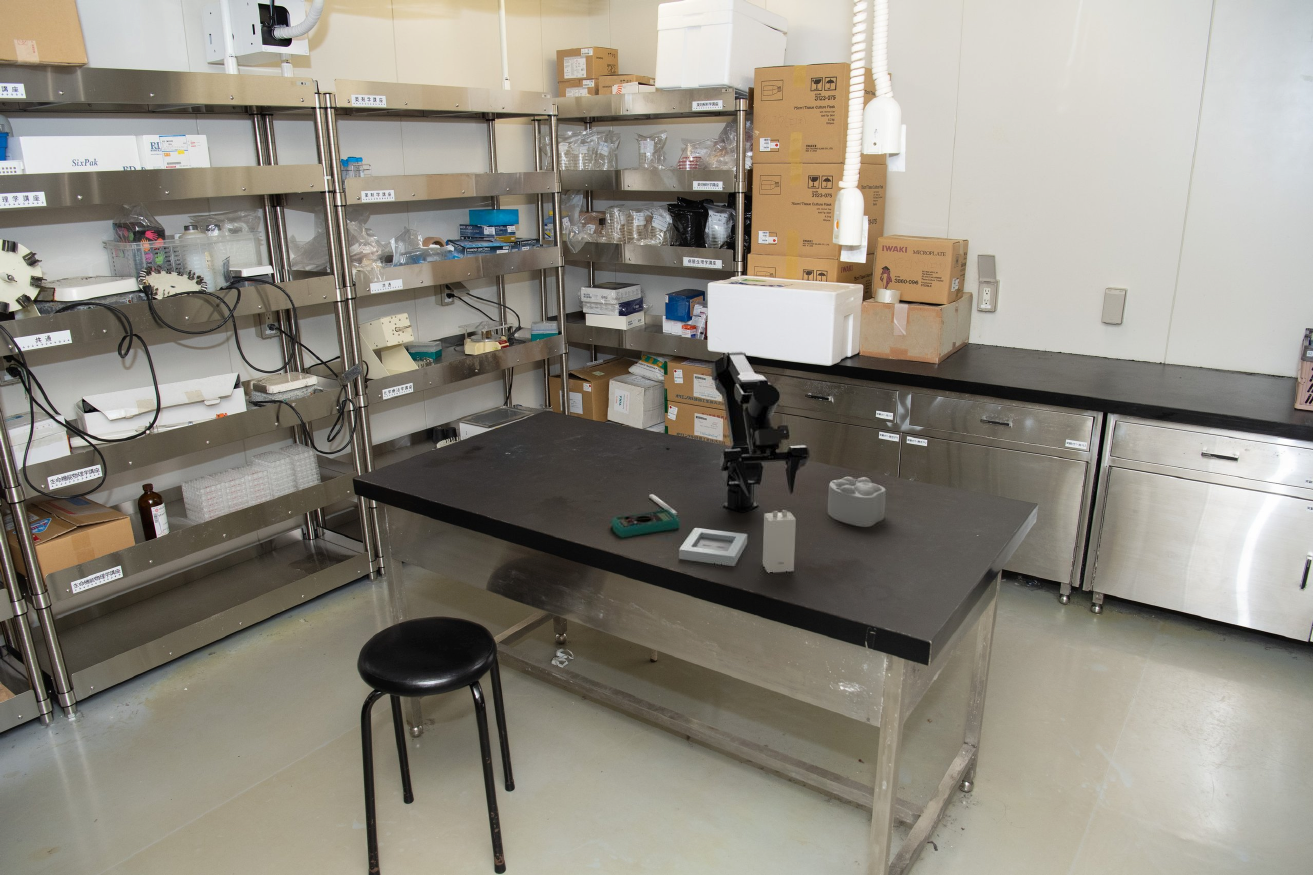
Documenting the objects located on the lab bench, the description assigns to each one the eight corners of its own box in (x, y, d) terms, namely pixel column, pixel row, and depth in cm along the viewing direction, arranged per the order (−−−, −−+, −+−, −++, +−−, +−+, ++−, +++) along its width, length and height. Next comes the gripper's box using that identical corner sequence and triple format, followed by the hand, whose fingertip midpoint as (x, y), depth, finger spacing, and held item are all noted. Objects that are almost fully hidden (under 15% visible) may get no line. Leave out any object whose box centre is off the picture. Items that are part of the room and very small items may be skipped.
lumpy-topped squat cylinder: (865, 529, 198) (868, 494, 195) (817, 514, 207) (819, 480, 204) (888, 516, 205) (891, 482, 203) (841, 502, 214) (843, 469, 211)
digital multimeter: (609, 528, 201) (609, 516, 200) (669, 518, 206) (669, 507, 205) (619, 540, 195) (619, 528, 194) (680, 530, 199) (680, 518, 199)
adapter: (762, 564, 181) (764, 507, 177) (788, 562, 182) (790, 506, 178) (767, 572, 177) (769, 515, 173) (793, 571, 178) (796, 513, 174)
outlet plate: (694, 536, 195) (694, 527, 194) (747, 543, 191) (747, 534, 190) (679, 558, 184) (679, 549, 183) (734, 566, 180) (734, 556, 179)
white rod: (649, 498, 218) (648, 493, 218) (653, 497, 218) (653, 493, 218) (672, 516, 206) (672, 512, 206) (677, 515, 207) (677, 511, 206)
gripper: (723, 413, 181) (733, 481, 174) (809, 409, 183) (823, 476, 176) (715, 437, 191) (724, 502, 184) (797, 433, 193) (809, 497, 186)
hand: (770, 494), depth 182 cm, fingers open, 9 cm apart
